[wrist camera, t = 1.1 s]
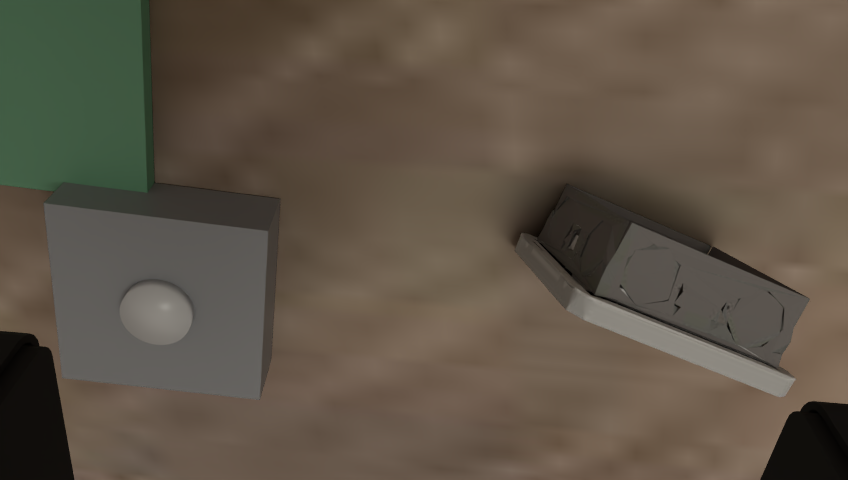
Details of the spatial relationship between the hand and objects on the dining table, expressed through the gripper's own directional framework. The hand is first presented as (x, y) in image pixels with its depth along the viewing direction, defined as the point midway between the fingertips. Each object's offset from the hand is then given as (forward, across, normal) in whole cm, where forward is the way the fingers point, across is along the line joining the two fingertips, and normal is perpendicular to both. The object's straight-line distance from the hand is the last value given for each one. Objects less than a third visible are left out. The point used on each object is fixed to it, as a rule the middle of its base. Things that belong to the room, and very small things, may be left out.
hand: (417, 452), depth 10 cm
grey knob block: (+23, +10, +13) cm, 29 cm away
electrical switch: (+24, -10, +9) cm, 27 cm away
